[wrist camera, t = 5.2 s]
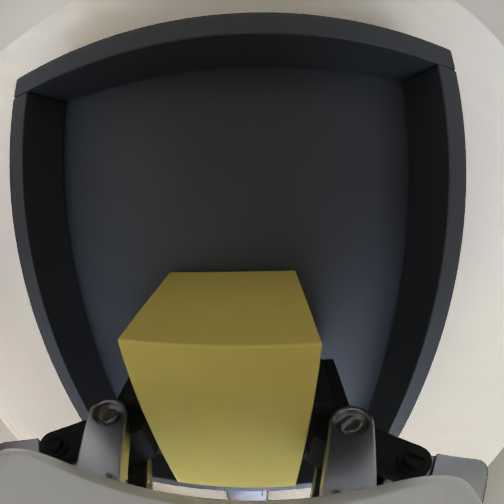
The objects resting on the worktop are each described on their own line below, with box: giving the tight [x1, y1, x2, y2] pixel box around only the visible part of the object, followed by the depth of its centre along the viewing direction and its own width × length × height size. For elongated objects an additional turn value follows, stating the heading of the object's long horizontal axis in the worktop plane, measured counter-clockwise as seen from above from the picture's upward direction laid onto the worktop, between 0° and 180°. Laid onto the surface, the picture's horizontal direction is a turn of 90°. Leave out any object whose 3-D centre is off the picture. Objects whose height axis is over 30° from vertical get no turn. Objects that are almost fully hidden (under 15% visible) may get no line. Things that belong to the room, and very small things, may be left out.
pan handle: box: [226, 491, 267, 501], centre depth 13 cm, size 11×3×3 cm, turn 2°
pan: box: [10, 13, 466, 491], centre depth 9 cm, size 20×15×3 cm
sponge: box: [118, 271, 322, 488], centre depth 8 cm, size 7×4×4 cm, turn 1°
